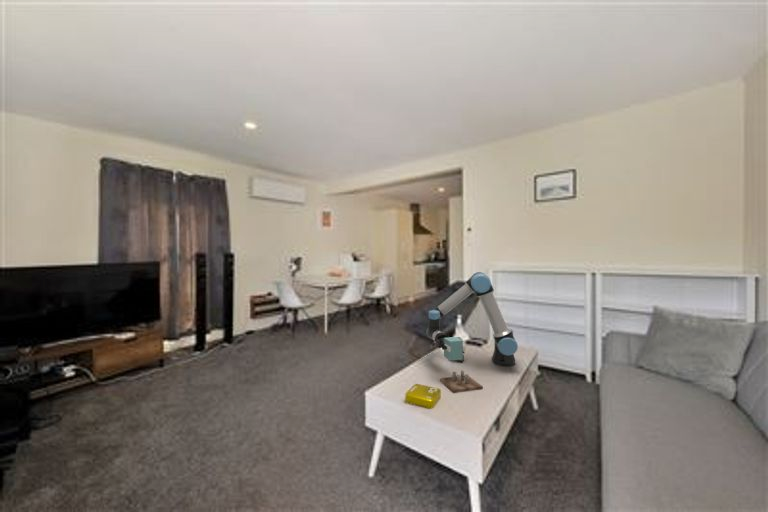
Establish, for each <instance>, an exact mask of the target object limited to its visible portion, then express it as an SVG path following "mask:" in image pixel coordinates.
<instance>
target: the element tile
mask: <svg viewBox="0 0 768 512" xmlns="http://www.w3.org/2000/svg"><path fill="white" fill-rule="evenodd" d="M441 393H442V391H441V389H440V388H438V387H433V386H428V385H424V384H418V383H415V384H413V385H412V386H411V387H410V388H409V390H407V391H406V393H405V401H406V402H405V403H407V402H408V403H407V404H410V403H412V404H411V405H414V404H415V405H414V406H418V407H422V408H426V409H433V408H434V407H436V405H437V404H438V402H439V401H440V400H441V399H442V398H441V397H442V396H441V395H442V394H441Z"/></svg>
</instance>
